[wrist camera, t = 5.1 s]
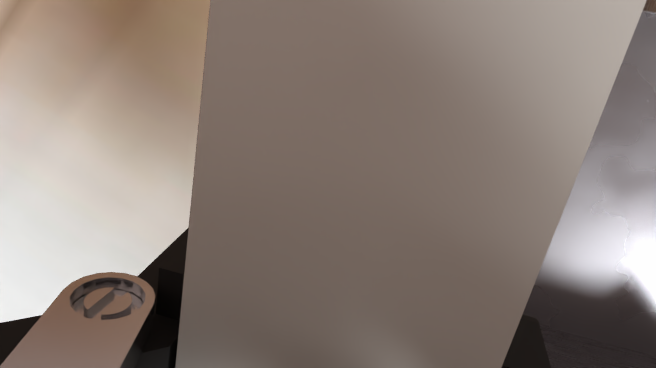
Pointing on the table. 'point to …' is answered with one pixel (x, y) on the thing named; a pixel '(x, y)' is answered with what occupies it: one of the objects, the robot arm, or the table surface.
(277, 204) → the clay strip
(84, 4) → the table surface
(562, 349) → the twin post stand
